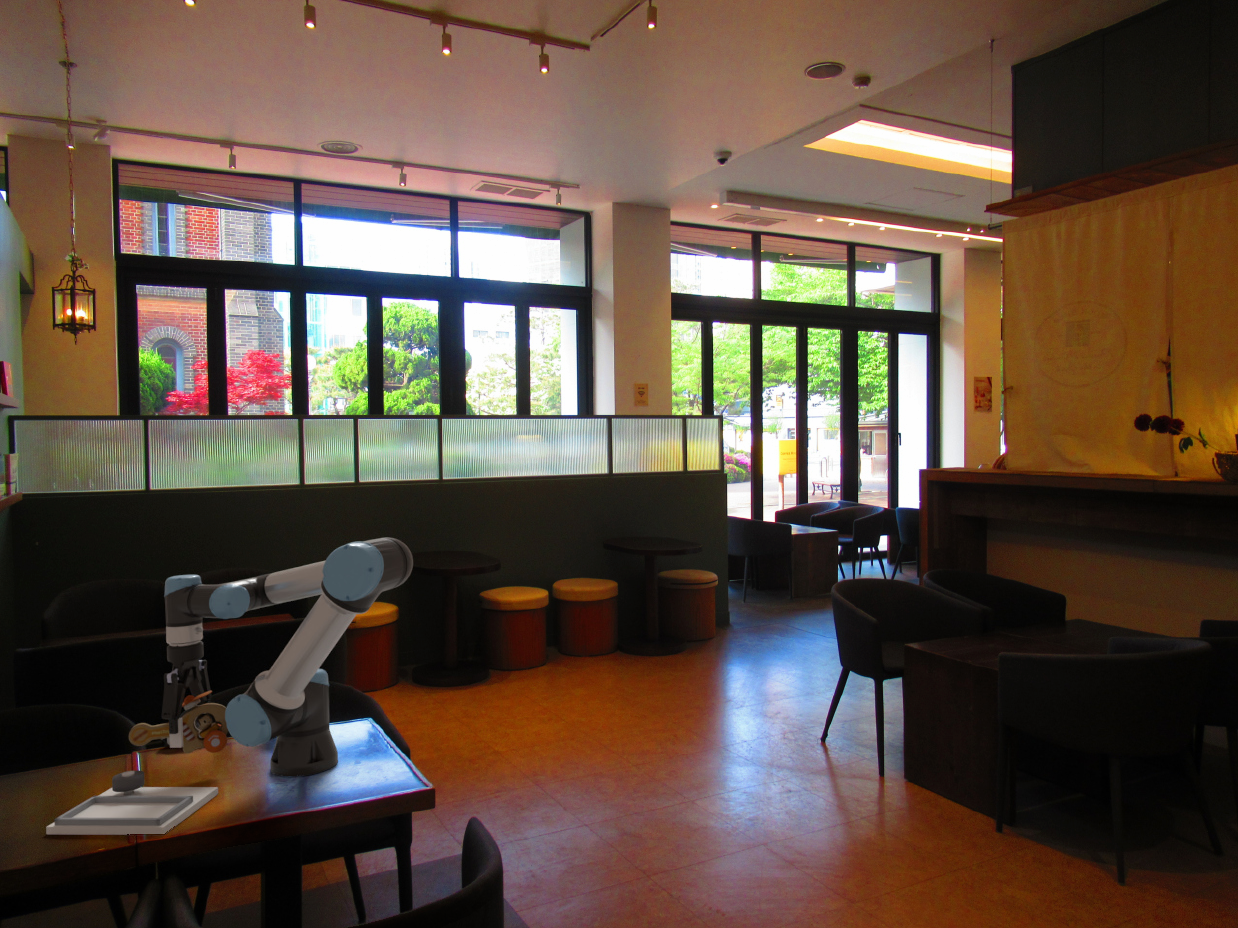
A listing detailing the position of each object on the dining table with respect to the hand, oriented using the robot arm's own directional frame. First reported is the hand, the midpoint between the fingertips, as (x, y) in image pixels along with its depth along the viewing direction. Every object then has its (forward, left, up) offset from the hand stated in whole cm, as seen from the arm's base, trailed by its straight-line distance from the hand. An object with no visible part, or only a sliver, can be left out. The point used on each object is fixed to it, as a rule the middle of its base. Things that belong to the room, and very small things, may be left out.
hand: (188, 739), depth 194 cm
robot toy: (+16, -26, -9) cm, 32 cm away
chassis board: (0, +19, -9) cm, 21 cm away
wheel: (+6, +12, -6) cm, 15 cm away
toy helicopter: (0, +1, -3) cm, 3 cm away
